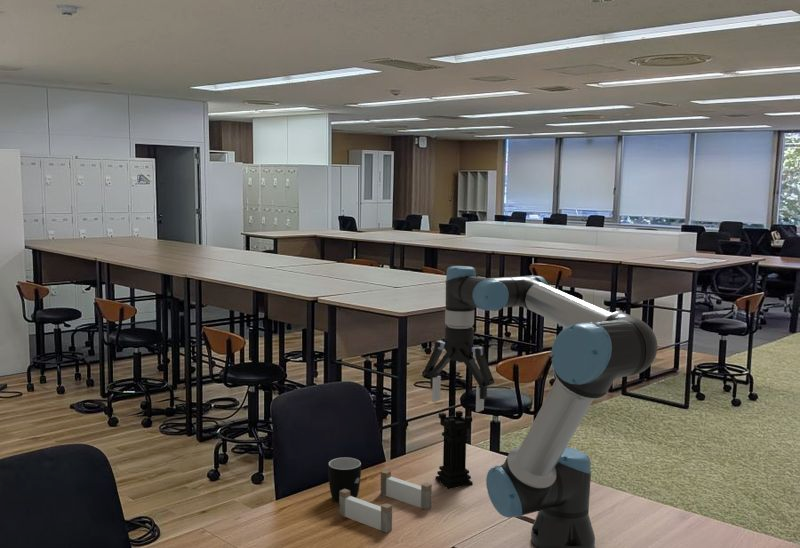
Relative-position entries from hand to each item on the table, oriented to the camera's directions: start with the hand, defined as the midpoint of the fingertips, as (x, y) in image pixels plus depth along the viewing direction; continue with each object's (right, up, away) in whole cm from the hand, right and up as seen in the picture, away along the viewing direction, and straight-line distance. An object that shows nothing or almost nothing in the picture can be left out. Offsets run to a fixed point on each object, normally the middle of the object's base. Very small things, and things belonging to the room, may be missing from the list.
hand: (457, 405), depth 188 cm
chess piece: (+1, -27, +22) cm, 35 cm away
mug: (-30, -27, +11) cm, 42 cm away
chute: (-19, -28, +2) cm, 34 cm away
